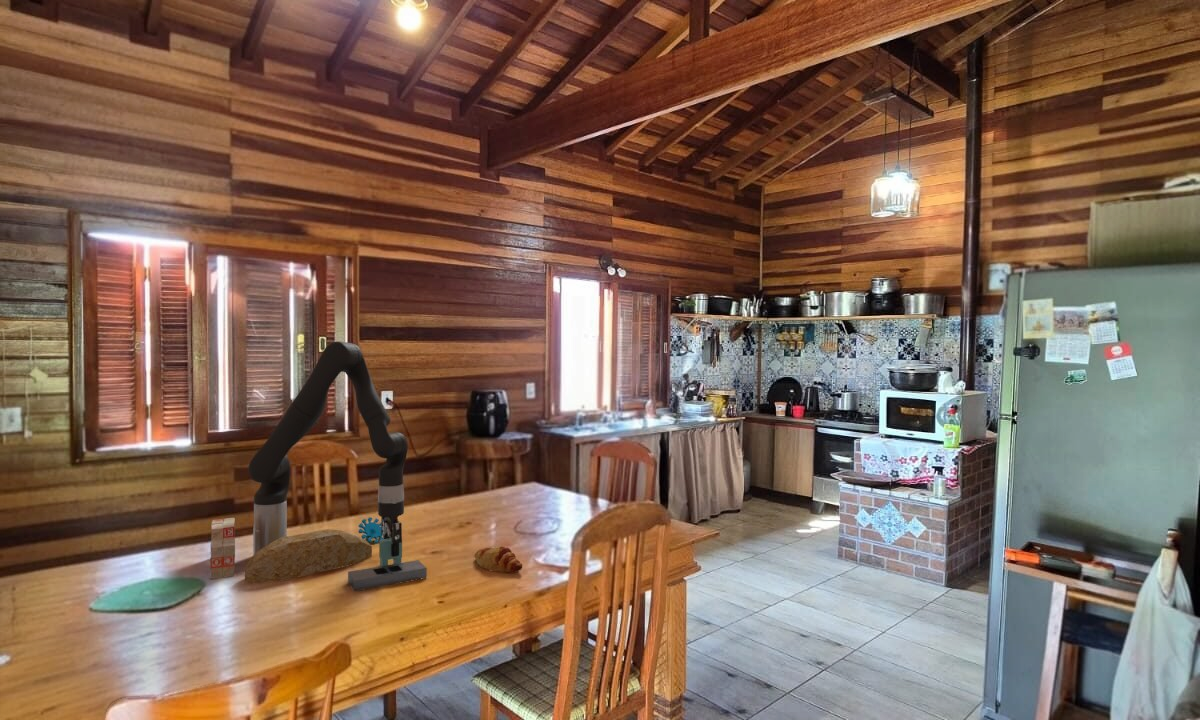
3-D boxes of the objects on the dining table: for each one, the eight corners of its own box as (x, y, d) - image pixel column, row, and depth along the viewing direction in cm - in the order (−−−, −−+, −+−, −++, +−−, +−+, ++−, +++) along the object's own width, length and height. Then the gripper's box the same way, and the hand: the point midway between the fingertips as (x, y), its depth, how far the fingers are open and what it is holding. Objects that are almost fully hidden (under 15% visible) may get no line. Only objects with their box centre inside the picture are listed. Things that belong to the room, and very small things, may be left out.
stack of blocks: (235, 576, 193) (234, 534, 192) (210, 580, 190) (209, 537, 189) (235, 555, 211) (234, 516, 211) (212, 558, 208) (212, 519, 208)
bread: (252, 588, 184) (252, 552, 184) (240, 577, 192) (240, 543, 192) (376, 560, 209) (377, 528, 209) (362, 551, 217) (362, 521, 216)
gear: (363, 542, 221) (356, 516, 226) (356, 552, 223) (350, 526, 229) (394, 540, 228) (387, 515, 234) (386, 549, 231) (380, 525, 237)
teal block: (381, 569, 200) (382, 542, 200) (379, 565, 203) (379, 539, 202) (402, 565, 203) (402, 539, 203) (399, 562, 206) (399, 536, 206)
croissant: (468, 572, 208) (458, 552, 205) (490, 550, 215) (481, 531, 212) (515, 587, 194) (505, 566, 191) (536, 564, 201) (527, 543, 198)
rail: (354, 591, 182) (354, 580, 182) (348, 582, 189) (348, 571, 188) (426, 578, 192) (426, 567, 192) (418, 570, 199) (418, 560, 199)
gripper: (372, 496, 206) (372, 548, 207) (384, 505, 194) (384, 560, 195) (397, 493, 210) (397, 544, 211) (410, 502, 198) (410, 556, 199)
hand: (391, 552), depth 203 cm, fingers open, 8 cm apart
